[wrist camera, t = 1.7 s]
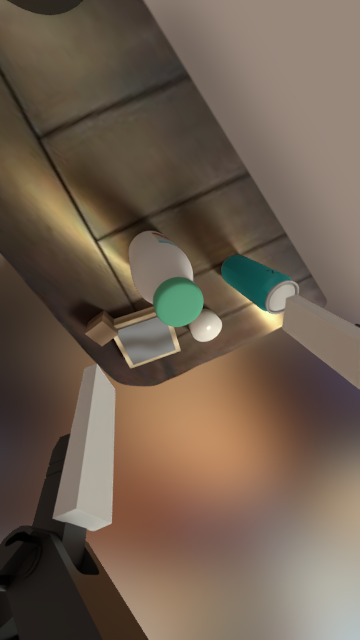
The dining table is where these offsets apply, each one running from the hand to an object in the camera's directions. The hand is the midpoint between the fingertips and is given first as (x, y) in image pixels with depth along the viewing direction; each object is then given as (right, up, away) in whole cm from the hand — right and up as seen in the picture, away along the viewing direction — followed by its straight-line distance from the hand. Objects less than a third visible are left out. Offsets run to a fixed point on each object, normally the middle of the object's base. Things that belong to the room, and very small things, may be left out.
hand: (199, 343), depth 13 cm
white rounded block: (+4, +1, +31) cm, 31 cm away
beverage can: (+9, +13, +26) cm, 30 cm away
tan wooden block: (-17, +1, +25) cm, 30 cm away
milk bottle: (-7, +13, +20) cm, 25 cm away
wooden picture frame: (-9, -1, +29) cm, 30 cm away
